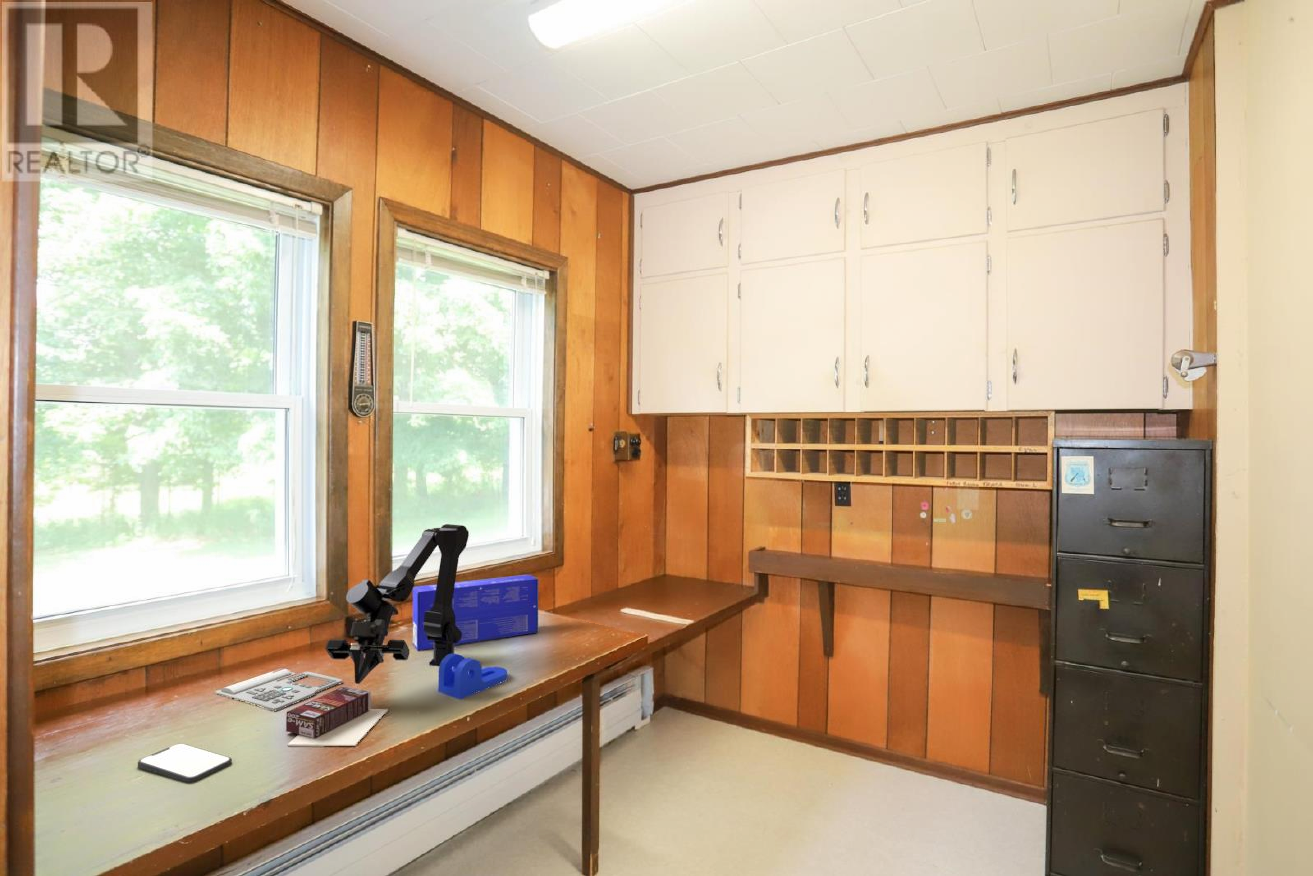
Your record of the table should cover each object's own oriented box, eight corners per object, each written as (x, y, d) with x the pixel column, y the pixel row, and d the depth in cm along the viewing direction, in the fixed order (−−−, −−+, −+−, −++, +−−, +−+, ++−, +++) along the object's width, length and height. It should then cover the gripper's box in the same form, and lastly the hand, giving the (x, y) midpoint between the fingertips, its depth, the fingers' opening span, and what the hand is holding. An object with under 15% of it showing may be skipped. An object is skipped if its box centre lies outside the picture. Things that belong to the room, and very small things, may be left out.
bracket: (459, 700, 163) (460, 664, 163) (438, 692, 168) (438, 657, 168) (513, 679, 178) (514, 645, 178) (492, 672, 183) (493, 640, 183)
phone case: (235, 766, 130) (180, 749, 136) (235, 758, 130) (180, 741, 136) (190, 788, 122) (133, 769, 128) (190, 779, 122) (134, 761, 128)
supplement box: (371, 690, 155) (315, 718, 140) (371, 710, 155) (315, 740, 140) (343, 684, 158) (285, 711, 143) (343, 704, 158) (285, 733, 143)
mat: (328, 710, 155) (328, 708, 155) (387, 710, 156) (387, 709, 156) (287, 746, 137) (287, 744, 137) (354, 746, 138) (355, 744, 138)
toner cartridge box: (529, 627, 225) (530, 574, 225) (538, 634, 218) (539, 578, 218) (411, 644, 205) (412, 585, 205) (416, 652, 198) (417, 591, 198)
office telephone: (212, 686, 164) (287, 662, 182) (212, 697, 164) (287, 671, 182) (274, 703, 154) (346, 675, 172) (274, 714, 154) (346, 685, 172)
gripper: (329, 606, 160) (305, 667, 149) (406, 607, 160) (388, 668, 149) (343, 628, 168) (321, 688, 157) (416, 630, 168) (400, 689, 157)
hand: (357, 683), depth 155 cm, fingers closed
